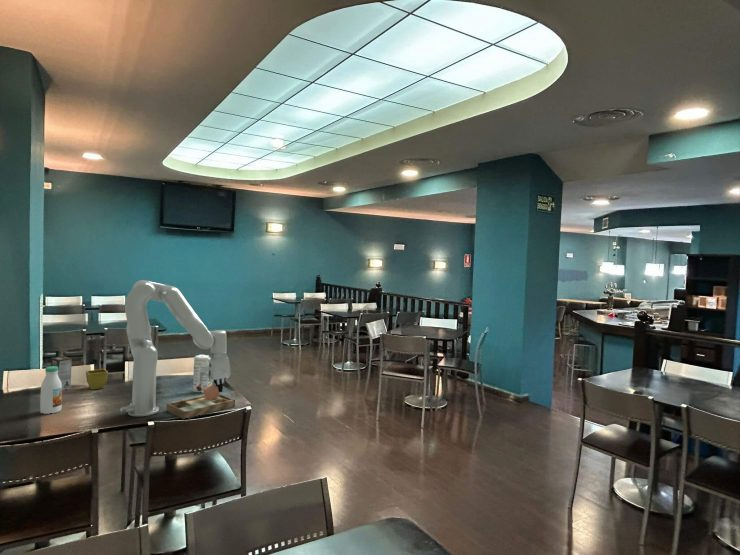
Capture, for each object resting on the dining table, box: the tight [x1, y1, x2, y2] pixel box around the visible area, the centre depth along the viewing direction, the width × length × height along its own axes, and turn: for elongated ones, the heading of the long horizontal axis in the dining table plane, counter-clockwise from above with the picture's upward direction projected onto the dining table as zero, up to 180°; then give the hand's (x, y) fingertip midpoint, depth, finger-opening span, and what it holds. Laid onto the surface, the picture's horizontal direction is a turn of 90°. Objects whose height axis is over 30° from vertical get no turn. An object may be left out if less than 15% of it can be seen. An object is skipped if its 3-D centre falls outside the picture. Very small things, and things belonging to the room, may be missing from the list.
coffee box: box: [50, 355, 73, 391], centre depth 231 cm, size 9×6×16 cm
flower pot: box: [85, 368, 109, 390], centre depth 234 cm, size 9×9×9 cm
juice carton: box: [192, 354, 213, 394], centre depth 237 cm, size 8×9×19 cm
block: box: [203, 384, 220, 401], centre depth 217 cm, size 5×5×5 cm
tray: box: [165, 393, 236, 420], centre depth 210 cm, size 26×16×3 cm, turn 141°
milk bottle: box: [39, 365, 63, 415], centre depth 197 cm, size 8×8×20 cm
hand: (219, 391), depth 220 cm, fingers closed
